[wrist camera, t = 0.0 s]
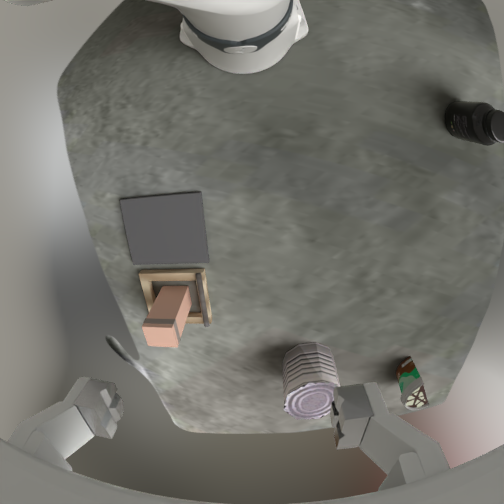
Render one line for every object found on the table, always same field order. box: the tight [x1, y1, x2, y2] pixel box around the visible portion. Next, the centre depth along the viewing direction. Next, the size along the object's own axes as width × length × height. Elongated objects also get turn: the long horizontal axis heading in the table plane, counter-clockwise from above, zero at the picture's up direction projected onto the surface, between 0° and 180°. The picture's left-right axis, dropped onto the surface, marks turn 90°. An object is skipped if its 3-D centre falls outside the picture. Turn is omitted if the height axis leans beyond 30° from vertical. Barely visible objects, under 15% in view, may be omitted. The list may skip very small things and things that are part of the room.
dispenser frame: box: [139, 268, 212, 327], centre depth 53 cm, size 11×12×2 cm
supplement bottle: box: [445, 101, 504, 145], centre depth 33 cm, size 7×7×12 cm
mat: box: [120, 192, 209, 265], centre depth 48 cm, size 12×14×1 cm
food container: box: [396, 357, 429, 410], centre depth 59 cm, size 12×6×10 cm, turn 32°
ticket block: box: [142, 286, 192, 347], centre depth 49 cm, size 4×5×12 cm
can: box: [282, 342, 340, 419], centre depth 55 cm, size 11×11×12 cm
